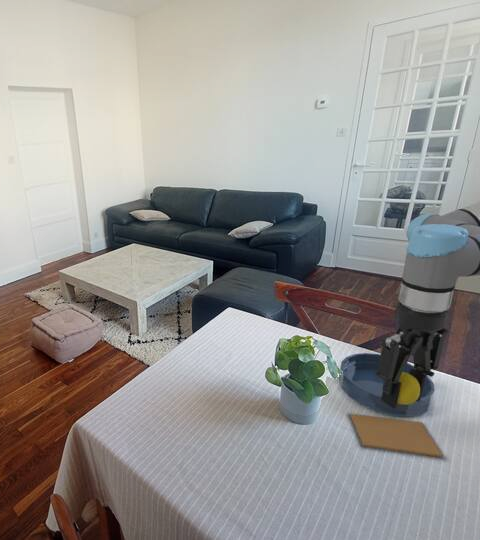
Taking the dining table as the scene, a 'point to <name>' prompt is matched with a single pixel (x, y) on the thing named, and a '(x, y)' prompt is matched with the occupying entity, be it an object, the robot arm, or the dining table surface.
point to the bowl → (378, 386)
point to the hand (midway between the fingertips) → (400, 400)
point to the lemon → (408, 389)
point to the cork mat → (395, 435)
